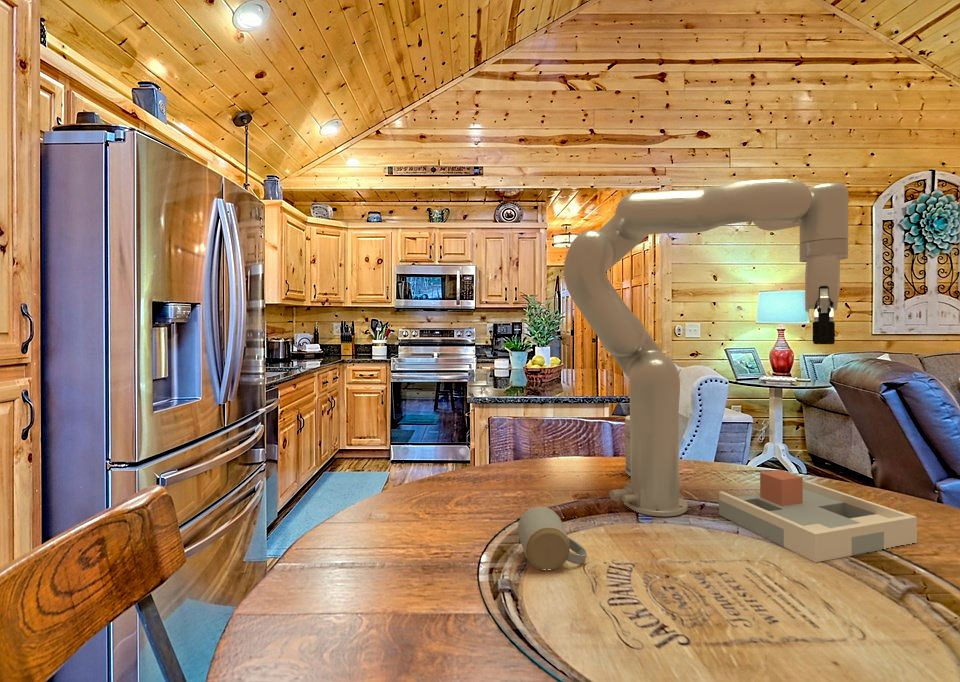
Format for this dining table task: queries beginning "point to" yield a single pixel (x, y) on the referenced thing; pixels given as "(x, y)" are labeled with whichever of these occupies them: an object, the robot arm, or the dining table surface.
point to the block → (781, 487)
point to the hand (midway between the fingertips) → (823, 343)
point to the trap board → (822, 523)
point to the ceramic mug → (547, 540)
